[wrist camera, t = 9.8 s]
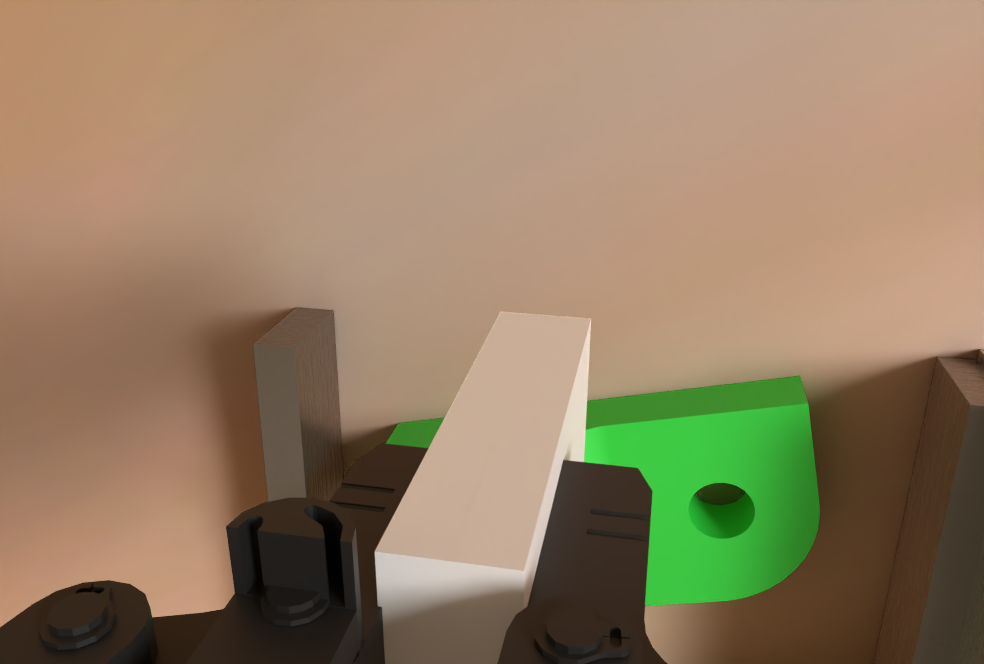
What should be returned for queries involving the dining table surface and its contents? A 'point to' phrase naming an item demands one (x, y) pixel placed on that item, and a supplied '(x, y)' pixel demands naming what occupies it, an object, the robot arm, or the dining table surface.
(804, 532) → the mechanical part
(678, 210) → the dining table surface
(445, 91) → the dining table surface
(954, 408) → the knobbed latch bracket
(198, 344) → the dining table surface
